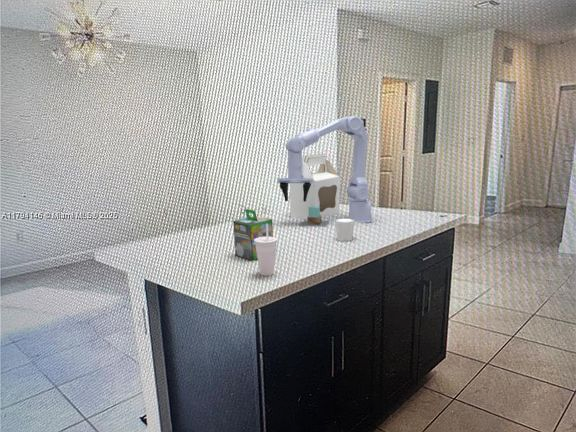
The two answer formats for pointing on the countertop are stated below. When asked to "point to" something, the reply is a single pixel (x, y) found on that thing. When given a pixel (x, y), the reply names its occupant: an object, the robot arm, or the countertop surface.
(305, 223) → the build mat
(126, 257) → the countertop surface
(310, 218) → the walnut block
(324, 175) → the gable box
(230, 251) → the countertop surface
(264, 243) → the smoothie
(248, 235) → the green carry carton
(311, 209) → the teal cube
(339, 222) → the white cylinder
